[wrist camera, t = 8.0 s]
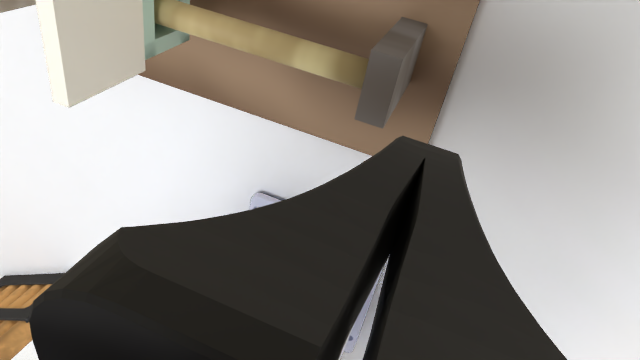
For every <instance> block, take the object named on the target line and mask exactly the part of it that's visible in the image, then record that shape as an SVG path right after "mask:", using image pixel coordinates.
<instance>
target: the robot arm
mask: <svg viewBox="0 0 640 360" xmlns="http://www.w3.org/2000/svg"><path fill="white" fill-rule="evenodd" d="M257 207H259V208H257ZM389 255H390V256H389ZM388 257H389V260H388V264H387V268H386V272H385V276H384V280H383V284H382V288H381V292H380V297H379V301H378V305H377V309H376V313H375V317H374V321H373V325H372V329H371V333H370V337H369V341H368V344H367V347H366V351H365V354H364V357H363V360H567V359H566V358H565V356H564V355H563V354H562V353H561V352H560V351H559V349H558V348H557V347H556V346H555V344H554V343H553V342H552V341H551V339H550V338H549V337H548V336H547V334H546V333H545V332H544V331H543V329H542V328H541V327H540V325H539V324H538V322H537V321H536V320H535V318H534V317H533V316H532V314H531V313H530V311H529V310H528V309H527V307H526V306H525V304H524V303H523V302H522V300H521V299H520V297H519V296H518V294H517V293H516V291H515V290H514V288H513V287H512V285H511V284H510V282H509V280H508V279H507V277H506V275H505V273H504V272H503V270H502V268H501V267H500V265H499V263H498V261H497V260H496V258H495V256H494V254H493V252H492V250H491V248H490V245H489V243H488V241H487V239H486V237H485V234H484V232H483V230H482V227H481V225H480V222H479V220H478V217H477V215H476V212H475V209H474V206H473V203H472V201H471V198H470V194H469V191H468V188H467V184H466V181H465V177H464V172H463V167H462V161H461V159H460V157H459V154H456V153H453V152H450V151H447V150H444V149H441V148H438V147H435V146H432V145H429V144H426V143H423V142H420V141H417V140H414V139H412V138H409V137H406V136H400V137H398V138H396V139H395V140H394V141H393V142H391V143H390V144H389V145H388V146H386V147H385V148H384V149H382V150H381V151H379V152H378V153H377V154H375V155H374V156H372V157H371V158H369V159H368V160H366V161H364V162H363V163H361V164H360V165H358V166H356V167H355V168H353V169H351V170H350V171H348V172H346V173H344V174H342V175H340V176H338V177H337V178H335V179H333V180H331V181H329V182H327V183H325V184H323V185H321V186H319V187H316V188H314V189H312V190H310V191H307V192H305V193H302V194H300V195H297V196H295V197H292V198H289V199H287V200H283V201H281V200H279V199H276V198H273V197H271V196H268V195H265V194H263V193H256V194H254V195H253V196H252V198H251V201H250V210H248V211H243V212H239V213H234V214H229V215H224V216H219V217H213V218H207V219H201V220H194V221H187V222H178V223H168V224H157V225H147V226H136V227H121V228H120V229H119V230H117V231H116V232H115V233H113V234H112V235H111V236H109V237H108V238H107V239H105V240H104V241H102V242H101V243H100V244H98V245H97V246H96V247H95V248H93V249H92V250H91V251H90V252H89V253H88V254H87V255H86V256H84V257H83V258H82V259H81V260H80V261H79V262H78V263H76V264H75V265H74V266H73V267H72V268H71V269H69V270H68V271H67V272H66V273H65V274H64V275H62V276H61V277H60V278H59V279H58V280H57V281H56V282H54V283H53V284H52V285H51V286H50V287H49V288H47V289H46V290H45V291H44V292H43V293H42V294H41V295H39V296H38V297H37V298H36V299H35V300H34V301H33V303H32V307H31V310H30V314H29V324H30V330H31V336H32V340H33V343H34V346H35V349H36V352H37V355H38V358H39V360H340V359H341V357H342V354H343V352H352V351H353V350H354V347H355V344H356V341H357V339H358V336H359V333H360V330H361V328H362V325H363V322H364V319H365V317H366V314H367V311H368V308H369V306H370V303H371V300H372V297H373V294H374V292H375V289H376V286H377V283H378V281H379V278H380V275H381V272H382V270H383V267H384V264H385V263H386V261H387V259H388Z"/></svg>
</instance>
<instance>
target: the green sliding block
mask: <svg viewBox="0 0 640 360" xmlns="http://www.w3.org/2000/svg"><path fill="white" fill-rule="evenodd" d="M35 1H36V7H37V13H38V18H39V24H40V30H41V36H42V41H43V47H44V53H45V59H46V65H47V70H48V76H49V82H50V88H51V93H52V99H53V102H55V103H57V104H60V105H63V106H65V107H68V108H70V107H72V106H74V105H76V104H78V103H80V102H82V101H84V100H86V99H88V98H90V97H93V96H95V95H97V94H99V93H101V92H103V91H105V90H107V89H109V88H111V87H113V86H115V85H117V84H119V83H121V82H123V81H125V80H127V79H130V78H132V77H134V76H136V75H138V74H140V73H142V72H144V71H146V70H145V60H147V59H149V58H151V57H153V56H156V55H158V54H160V53H162V52H164V51H166V50H169V49H171V48H173V47H175V46H177V45H180V44H182V43H184V42H186V41H188V40H189V35H190V34H187V33H184V32H181V31H178V30H175V29H172V28H168V27H165V26H162V25H159V24H156V23H155V21H154V0H35ZM177 1H180V2H183V3H187V4H190V0H177Z"/></svg>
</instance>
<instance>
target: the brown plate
mask: <svg viewBox="0 0 640 360" xmlns="http://www.w3.org/2000/svg"><path fill="white" fill-rule="evenodd" d="M479 2H480V0H190V4H187V3H183V2H180V1H177V0H154V21H155V23H156V24H159V25H162V26H165V27H168V28H172V29H175V30H178V31H181V32H184V33H187V34H190V35H189V40H188V41H186V42H184V43H182V44H180V45H177V46H175V47H173V48H171V49H169V50H166V51H164V52H162V53H160V54H158V55H156V56H153V57H151V58H149V59H147V60H145V70H146V71H144V72H142V73H140V74H138V75H140V76H143V77H146V78H149V79H152V80H155V81H158V82H161V83H164V84H166V85H169V86H172V87H175V88H178V89H181V90H184V91H187V92H190V93H192V94H195V95H198V96H201V97H204V98H207V99H210V100H213V101H215V102H218V103H221V104H224V105H227V106H230V107H233V108H236V109H239V110H241V111H244V112H247V113H250V114H253V115H256V116H259V117H262V118H265V119H267V120H270V121H273V122H276V123H279V124H282V125H285V126H288V127H291V128H293V129H296V130H299V131H302V132H305V133H308V134H311V135H314V136H316V137H319V138H322V139H325V140H328V141H331V142H334V143H337V144H340V145H342V146H345V147H348V148H351V149H354V150H357V151H360V152H363V153H366V154H368V155H371V156H374V155H375V154H377V153H378V152H379V151H381V150H382V149H384V148H385V147H386V146H388V145H389V144H390V143H391V142H393V141H394V140H395V139H396V138H398V137H400V136H406V137H409V138H412V139H414V140H417V141H420V142H423V143H426V144H428V143H429V140H430V137H431V134H432V131H433V129H434V126H435V123H436V120H437V118H438V115H439V112H440V109H441V107H442V104H443V101H444V98H445V96H446V93H447V90H448V87H449V84H450V82H451V79H452V76H453V73H454V71H455V68H456V65H457V62H458V60H459V57H460V54H461V51H462V49H463V46H464V43H465V40H466V37H467V35H468V32H469V29H470V26H471V24H472V21H473V18H474V15H475V13H476V10H477V7H478V4H479ZM35 4H36V1H35V0H0V13H2V12H6V11H10V10H14V9H18V8H22V7H27V6H31V5H35Z"/></svg>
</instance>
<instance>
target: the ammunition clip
mask: <svg viewBox="0 0 640 360" xmlns="http://www.w3.org/2000/svg"><path fill="white" fill-rule="evenodd" d="M64 274H65V273H59V274H35V275H11V276H4V277H3V278H1V279H0V360H11V359H12V358H13V357H14V356H15V355H16V354H17V353H18V352H20V351H21V350H22V349H23V348H24V347H25V346H26V345H27V344H28V343H29V342H31V341H32V336H31V330H30V324H29V314H30V310H31V307H32V303H33V301H34V300H35V299H36V298H37V297H38V296H39V295H41V294H42V293H43V292H44V291H45V290H46V289H47V288H49V287H50V286H51V285H52V284H53V283H54V282H56V281H57V280H58V279H59V278H60V277H61V276H62V275H64Z"/></svg>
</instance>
